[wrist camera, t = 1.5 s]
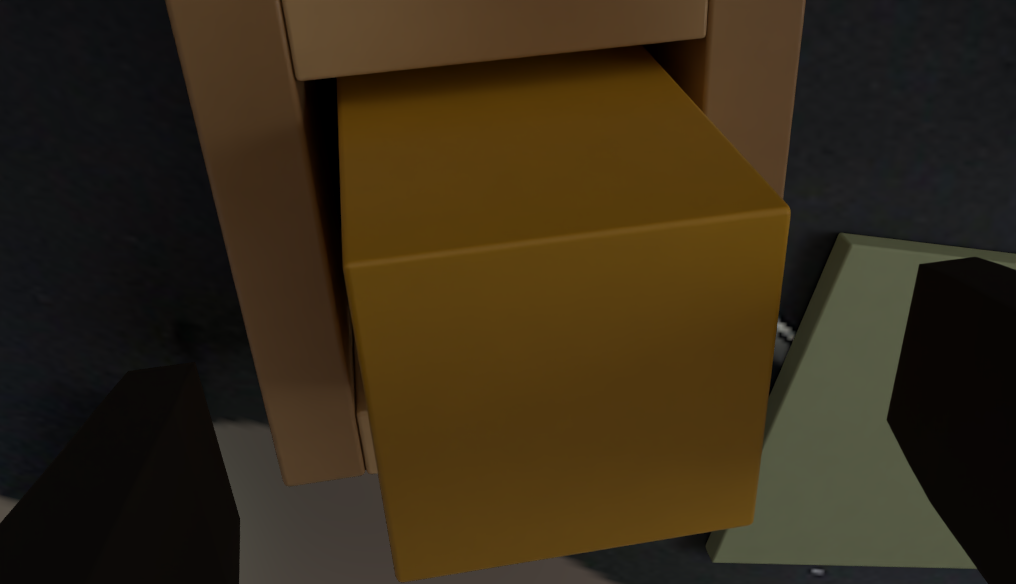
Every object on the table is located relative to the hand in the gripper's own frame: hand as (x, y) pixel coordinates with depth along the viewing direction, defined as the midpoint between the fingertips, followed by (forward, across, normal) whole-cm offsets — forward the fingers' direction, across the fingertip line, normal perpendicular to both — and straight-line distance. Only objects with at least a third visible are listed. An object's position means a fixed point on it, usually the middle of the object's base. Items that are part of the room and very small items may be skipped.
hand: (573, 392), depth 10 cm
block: (+7, 0, 0) cm, 7 cm away
